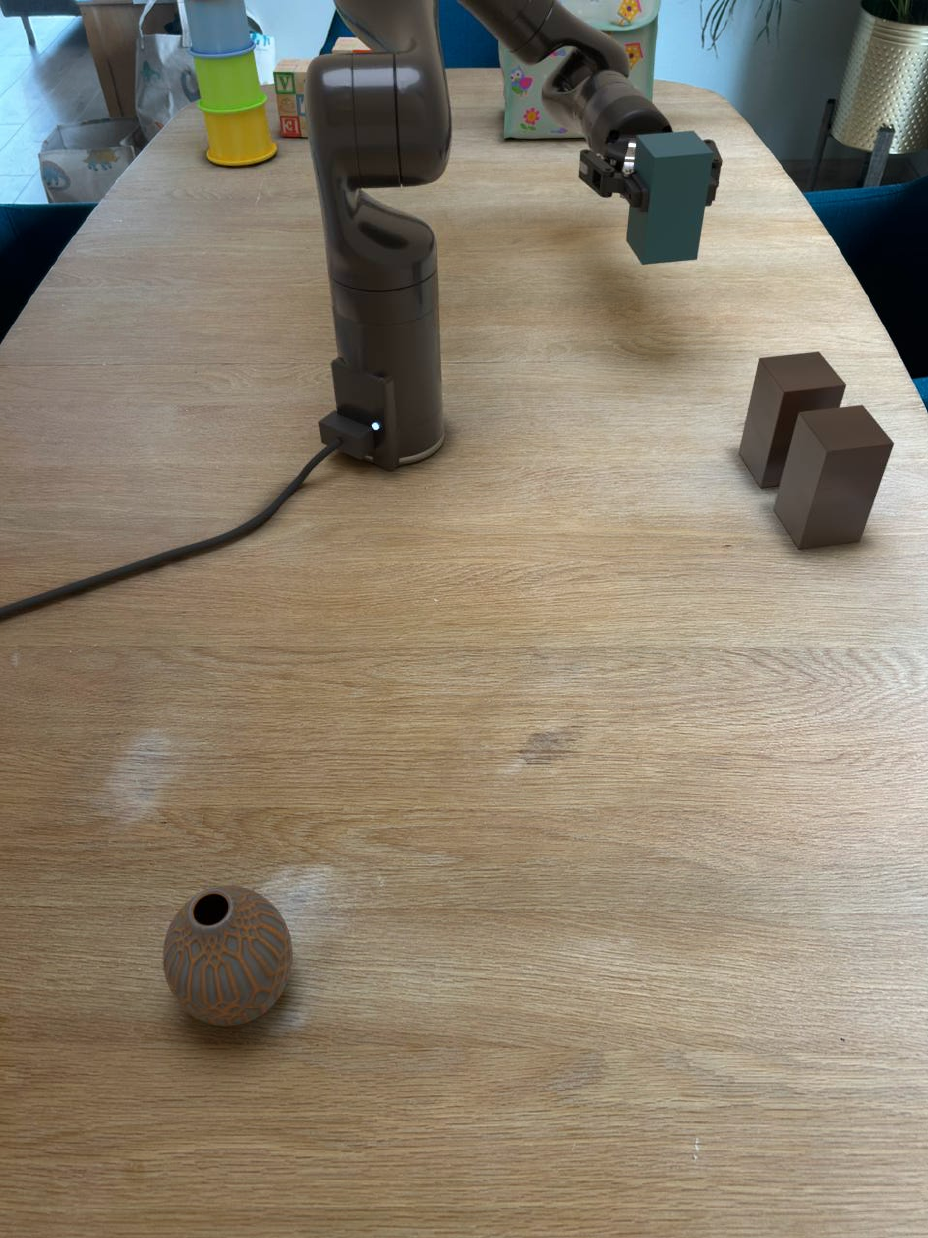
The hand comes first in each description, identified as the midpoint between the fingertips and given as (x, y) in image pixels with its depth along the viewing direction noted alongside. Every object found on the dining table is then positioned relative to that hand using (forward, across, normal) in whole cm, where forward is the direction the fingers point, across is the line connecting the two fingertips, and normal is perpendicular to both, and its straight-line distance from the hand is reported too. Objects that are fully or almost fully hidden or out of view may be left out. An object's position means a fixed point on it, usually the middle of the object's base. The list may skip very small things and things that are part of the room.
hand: (677, 198), depth 92 cm
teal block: (-3, 0, +6) cm, 7 cm away
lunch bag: (-69, +9, +18) cm, 72 cm away
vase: (+60, -44, +18) cm, 76 cm away
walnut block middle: (+19, +6, +18) cm, 26 cm away
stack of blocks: (-74, -24, +18) cm, 80 cm away
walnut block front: (+27, +6, +18) cm, 33 cm away
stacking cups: (-68, -41, +18) cm, 82 cm away
